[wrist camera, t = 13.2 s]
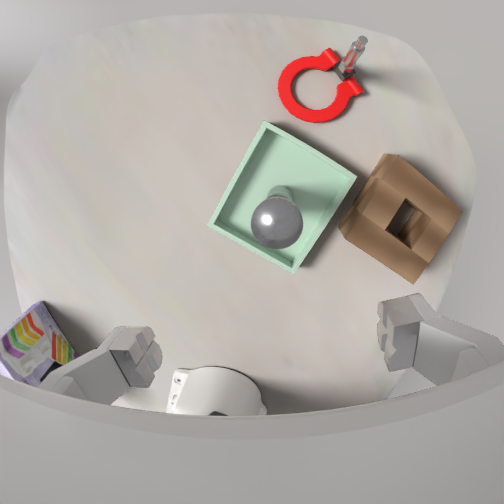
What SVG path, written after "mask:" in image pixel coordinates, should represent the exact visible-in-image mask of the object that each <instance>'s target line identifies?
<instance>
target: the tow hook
mask: <svg viewBox="0 0 504 504" xmlns="http://www.w3.org/2000/svg"><path fill="white" fill-rule="evenodd" d="M367 42H368V40H367V38H366V37H365V36H360V37H359V38H358V40H357V41H355V42H353V43H352V45H351V47H350V49H349V51H348V52H347V54H346V56H345V57H343V59H342V60H340V59H339V58H338V56H337V55H336V54H335V53H334V52H333V50H332V49H331V48H328V49H326V50H324V51H323V52H322V55H320V56H318V57H314V56H310V57H302V58H299V59H296V60H294V61H293V62H291V63H290V64H288V65H287V66H286V68H285V69H284V70H283V71H282V73H281V75H280V78H279V82H278V92H279V97H280V99H281V101H282V103H283V105H284V107H285V108H286V109H287V110H288V111H289V112H290V113H291V114H292V115H294V116H295V117H296V118H299V119H301V120H303V121H306V122H313V123H319V122H326V121H329V120H332V119H334V118H335V117H336V116H338V115H339V114H341V112H342V111H343V110H344V109H345V108H346V106H347V103H348V101H349V98H351V97H352V96H357V95H358V94H360V93H362V92H363V91H364V90H363V89H362V88H361V86H360V85H359V84H358V82H357V81H356V79H355V78H354V77H353V75H354V74H355V73H356V72H355V70H354V69H353V68H354V66H355V64H356V61H357V60H358V59H359V57H360V56H361V55H362V53H363V52H364V50H365V45H366V43H367ZM332 67H333V70H334V71H335V73H336V74H337V75H338V76H339V78H340V79H341V80H342V81H343V82H342V83H341V84H339V85H338V86H337V95H336V98H335V100H334V102H333V103H332V104H331V105H330V106H329V107H327V108H325V109H322V110H310V109H307V108H304V107H302V106H301V105H300V104H298V103H297V101H296V100H295V99H294V97H293V95H292V92H291V83H292V81H293V79H294V77H295V76H296V75H297V74H298V73H299V72H301V71H303V70H306V69H319V70H322V71H327V70H329V69H330V68H332Z"/></svg>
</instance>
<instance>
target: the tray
mask: <svg viewBox="0 0 504 504" xmlns="http://www.w3.org/2000/svg"><path fill="white" fill-rule="evenodd" d="M356 178H357V176H356V175H354V174H353V173H351V172H350V171H348V170H347V169H345V168H344V167H342V166H341V165H339V164H338V163H336V162H335V161H333V160H331V159H330V158H328V157H327V156H325V155H323V154H322V153H320V152H319V151H317V150H315V149H314V148H312V147H310V146H309V145H307V144H305V143H304V142H302V141H300V140H299V139H297V138H295V137H293V136H292V135H290V134H288V133H286V132H284V131H283V130H281V129H279V128H277V127H275V126H274V125H272V124H270V123H268V122H266V121H264V122H263V124H262V126H261V127H260V129H259V131H258V133H257V134H256V136H255V138H254V140H253V141H252V143H251V145H250V147H249V148H248V150H247V152H246V154H245V155H244V157H243V159H242V161H241V163H240V165H239V166H238V168H237V170H236V172H235V174H234V175H233V177H232V179H231V181H230V183H229V185H228V187H227V188H226V190H225V192H224V194H223V196H222V198H221V200H220V202H219V204H218V205H217V207H216V209H215V211H214V213H213V215H212V217H211V219H210V221H209V223H208V225H207V226H208V227H210V228H212V229H214V230H215V231H217V232H219V233H221V234H222V235H224V236H226V237H228V238H230V239H231V240H233V241H235V242H237V243H238V244H240V245H242V246H244V247H246V248H247V249H249V250H251V251H253V252H254V253H256V254H258V255H260V256H262V257H263V258H265V259H267V260H269V261H270V262H272V263H274V264H276V265H278V266H279V267H281V268H283V269H285V270H286V271H288V272H290V273H292V274H294V273H295V272H296V270H297V269H298V267H299V266H300V264H301V263H302V261H303V260H304V258H305V257H306V255H307V254H308V252H309V251H310V249H311V248H312V246H313V245H314V243H315V242H316V240H317V239H318V237H319V236H320V234H321V233H322V231H323V230H324V228H325V227H326V225H327V224H328V222H329V221H330V219H331V218H332V216H333V214H334V213H335V211H336V210H337V208H338V207H339V205H340V204H341V202H342V200H343V199H344V197H345V196H346V194H347V192H348V191H349V189H350V188H351V186H352V184H353V183H354V181H355V180H356ZM278 185H283V186H286V187H288V188H289V189H290V190H291V191H292V193H293V195H294V202H295V205H296V206H297V207H298V208H299V210H300V212H301V214H302V218H303V230H302V233H301V235H300V237H299V239H298V240H297V241H296V242H295V243H294V244H293V245H291V246H289V247H287V248H284V249H271V248H268V247H265V246H264V245H262V244H261V243H259V242H258V241H257V239H256V238H255V237H254V235H253V233H252V230H251V218H252V215H253V212H254V210H255V209H256V207H257V206H258V205H259V204H260V203H261V202H262V201H264V200H266V197H267V195H268V192H269V191H270V189H272V188H273V187H275V186H278Z"/></svg>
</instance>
